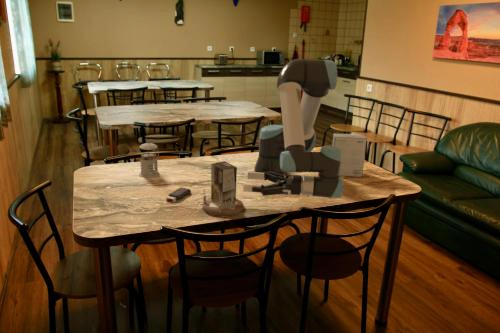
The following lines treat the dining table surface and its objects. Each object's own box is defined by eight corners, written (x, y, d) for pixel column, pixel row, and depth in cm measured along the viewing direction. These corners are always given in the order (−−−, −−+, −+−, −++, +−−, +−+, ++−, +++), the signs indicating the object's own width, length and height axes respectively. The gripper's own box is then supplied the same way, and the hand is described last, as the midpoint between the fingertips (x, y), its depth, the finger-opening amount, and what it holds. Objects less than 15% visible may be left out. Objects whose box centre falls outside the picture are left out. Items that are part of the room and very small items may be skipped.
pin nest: (207, 198, 168) (207, 188, 167) (245, 201, 167) (245, 191, 165) (198, 215, 153) (198, 204, 152) (240, 218, 152) (241, 207, 150)
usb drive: (190, 194, 173) (190, 188, 172) (175, 204, 163) (175, 197, 162) (180, 191, 175) (180, 185, 174) (164, 201, 165) (164, 195, 164)
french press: (134, 175, 190) (131, 123, 182) (149, 168, 201) (147, 118, 193) (152, 179, 187) (150, 126, 179) (166, 171, 197) (164, 121, 189)
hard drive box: (359, 172, 208) (365, 134, 202) (362, 177, 201) (367, 138, 195) (329, 170, 210) (333, 132, 203) (330, 175, 202) (334, 136, 196)
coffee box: (236, 206, 158) (237, 167, 153) (222, 209, 154) (222, 169, 149) (224, 198, 165) (225, 160, 160) (210, 201, 161) (210, 162, 156)
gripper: (300, 207, 143) (241, 203, 145) (300, 183, 166) (249, 179, 168) (302, 188, 140) (241, 183, 142) (301, 165, 164) (249, 162, 166)
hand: (245, 181), depth 155 cm, fingers open, 13 cm apart
